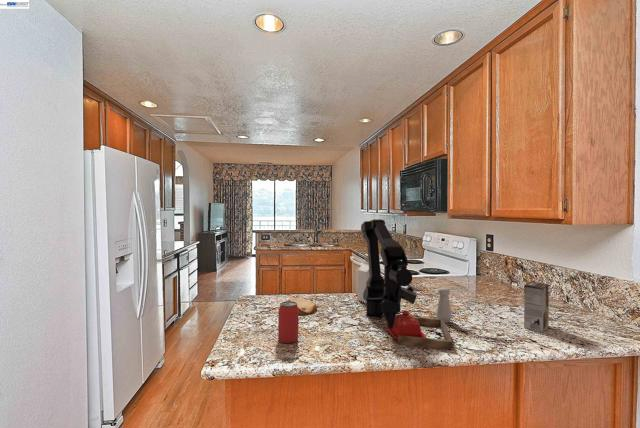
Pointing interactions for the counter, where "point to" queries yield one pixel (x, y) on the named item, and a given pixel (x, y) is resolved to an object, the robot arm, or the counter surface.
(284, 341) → the beer can
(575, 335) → the counter surface
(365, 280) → the milk carton
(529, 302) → the coffee box
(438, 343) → the walnut bay
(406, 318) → the butter dish
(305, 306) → the slice of bread
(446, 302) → the salt shaker
